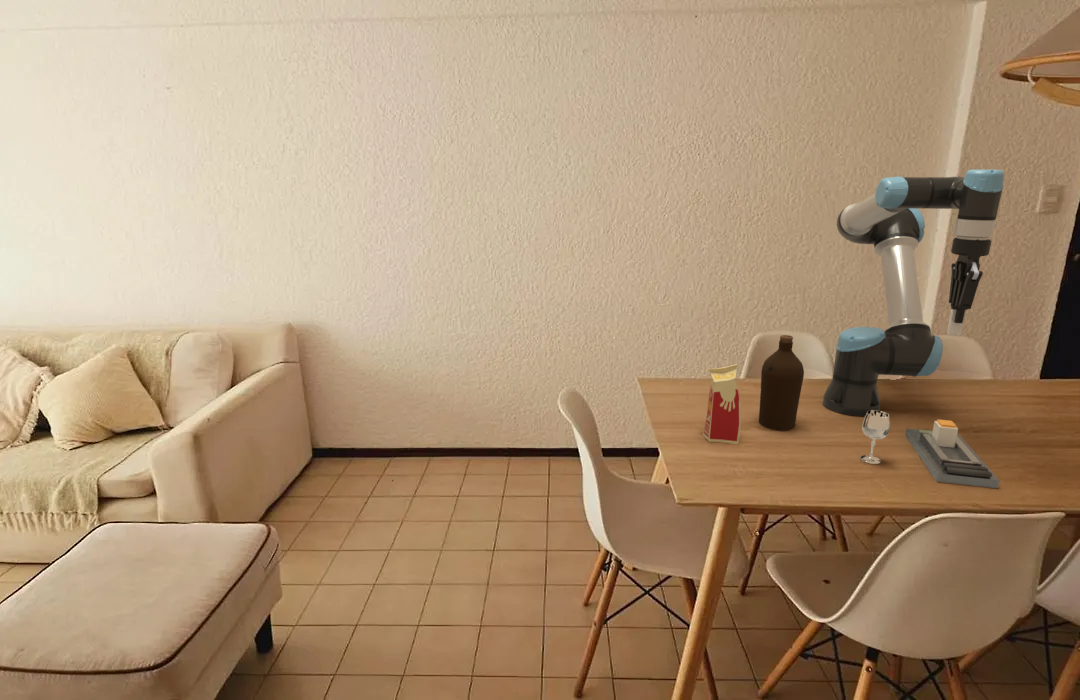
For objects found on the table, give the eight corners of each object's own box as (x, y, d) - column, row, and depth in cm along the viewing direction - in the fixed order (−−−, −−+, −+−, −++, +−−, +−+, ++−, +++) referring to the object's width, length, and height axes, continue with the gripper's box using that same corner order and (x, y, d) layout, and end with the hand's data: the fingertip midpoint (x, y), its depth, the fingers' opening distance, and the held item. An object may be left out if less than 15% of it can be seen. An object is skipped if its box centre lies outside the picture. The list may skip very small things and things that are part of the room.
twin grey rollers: (948, 474, 141) (949, 468, 141) (942, 467, 144) (943, 461, 144) (992, 479, 139) (993, 473, 138) (986, 471, 142) (987, 466, 142)
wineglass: (855, 461, 151) (863, 415, 148) (858, 452, 156) (865, 407, 153) (882, 467, 148) (891, 420, 145) (884, 458, 153) (892, 412, 150)
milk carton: (736, 430, 169) (743, 359, 163) (740, 444, 160) (747, 370, 155) (701, 427, 171) (707, 357, 165) (703, 441, 162) (709, 368, 156)
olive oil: (794, 435, 166) (805, 344, 159) (752, 427, 171) (761, 338, 164) (799, 421, 175) (810, 334, 168) (760, 413, 180) (769, 329, 173)
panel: (936, 481, 142) (939, 468, 141) (905, 435, 166) (907, 423, 165) (997, 488, 139) (1000, 475, 138) (956, 440, 163) (958, 428, 162)
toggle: (936, 445, 155) (940, 424, 153) (930, 439, 158) (934, 418, 157) (954, 447, 154) (958, 426, 152) (948, 441, 157) (953, 420, 156)
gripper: (1002, 241, 141) (981, 343, 147) (980, 235, 153) (961, 329, 159) (964, 240, 142) (945, 340, 149) (945, 234, 155) (928, 327, 161)
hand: (953, 334), depth 154 cm, fingers closed
